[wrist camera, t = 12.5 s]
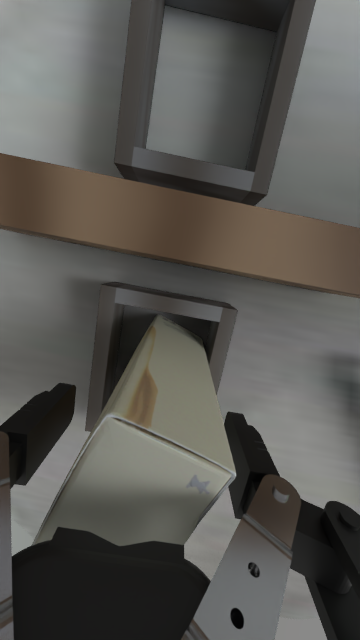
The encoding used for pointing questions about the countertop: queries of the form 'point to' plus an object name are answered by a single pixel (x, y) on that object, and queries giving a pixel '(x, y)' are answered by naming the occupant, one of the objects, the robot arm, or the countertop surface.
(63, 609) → the robot arm
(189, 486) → the skincare box
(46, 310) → the countertop surface
